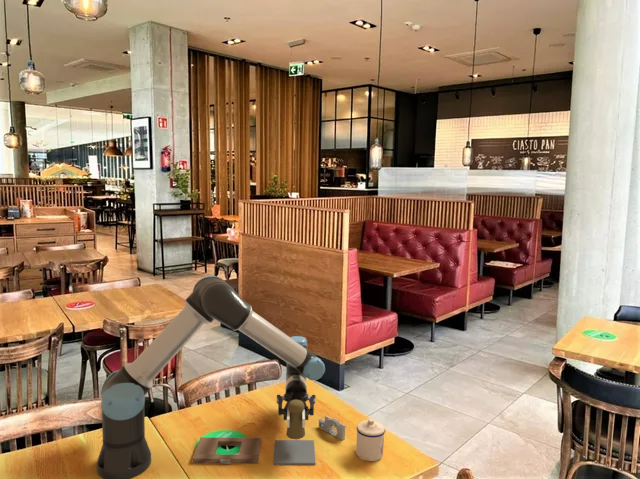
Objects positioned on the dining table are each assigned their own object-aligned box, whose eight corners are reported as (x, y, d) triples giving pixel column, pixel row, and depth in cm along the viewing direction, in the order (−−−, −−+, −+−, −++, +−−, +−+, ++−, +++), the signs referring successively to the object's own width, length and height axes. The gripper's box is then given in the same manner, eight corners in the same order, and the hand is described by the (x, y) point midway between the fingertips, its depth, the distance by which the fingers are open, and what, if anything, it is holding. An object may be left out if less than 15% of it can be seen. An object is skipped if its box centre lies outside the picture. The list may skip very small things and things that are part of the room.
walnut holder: (192, 464, 145) (192, 459, 145) (200, 441, 158) (200, 437, 158) (258, 464, 146) (258, 459, 146) (261, 442, 159) (261, 437, 159)
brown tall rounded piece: (302, 440, 149) (303, 407, 148) (283, 437, 151) (284, 404, 149) (307, 430, 155) (307, 398, 154) (289, 428, 156) (289, 396, 155)
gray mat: (272, 464, 147) (273, 462, 147) (274, 441, 160) (275, 439, 160) (315, 464, 147) (315, 463, 147) (313, 441, 160) (313, 440, 160)
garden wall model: (317, 427, 170) (318, 411, 169) (321, 425, 171) (321, 410, 170) (342, 441, 161) (343, 424, 161) (346, 439, 163) (346, 423, 162)
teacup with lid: (387, 461, 151) (389, 426, 149) (359, 463, 149) (361, 428, 148) (376, 440, 162) (377, 408, 161) (350, 442, 161) (351, 409, 159)
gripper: (320, 399, 171) (323, 434, 148) (271, 399, 170) (267, 435, 147) (320, 379, 170) (324, 411, 147) (272, 379, 169) (268, 411, 146)
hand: (295, 423), depth 147 cm, fingers closed on brown tall rounded piece, 4 cm apart
